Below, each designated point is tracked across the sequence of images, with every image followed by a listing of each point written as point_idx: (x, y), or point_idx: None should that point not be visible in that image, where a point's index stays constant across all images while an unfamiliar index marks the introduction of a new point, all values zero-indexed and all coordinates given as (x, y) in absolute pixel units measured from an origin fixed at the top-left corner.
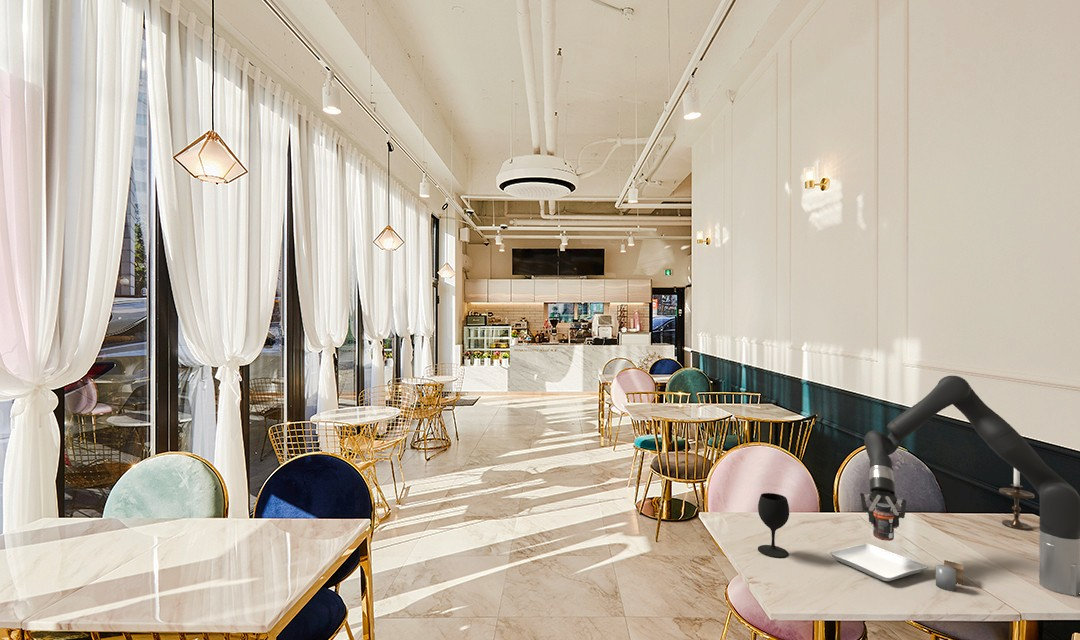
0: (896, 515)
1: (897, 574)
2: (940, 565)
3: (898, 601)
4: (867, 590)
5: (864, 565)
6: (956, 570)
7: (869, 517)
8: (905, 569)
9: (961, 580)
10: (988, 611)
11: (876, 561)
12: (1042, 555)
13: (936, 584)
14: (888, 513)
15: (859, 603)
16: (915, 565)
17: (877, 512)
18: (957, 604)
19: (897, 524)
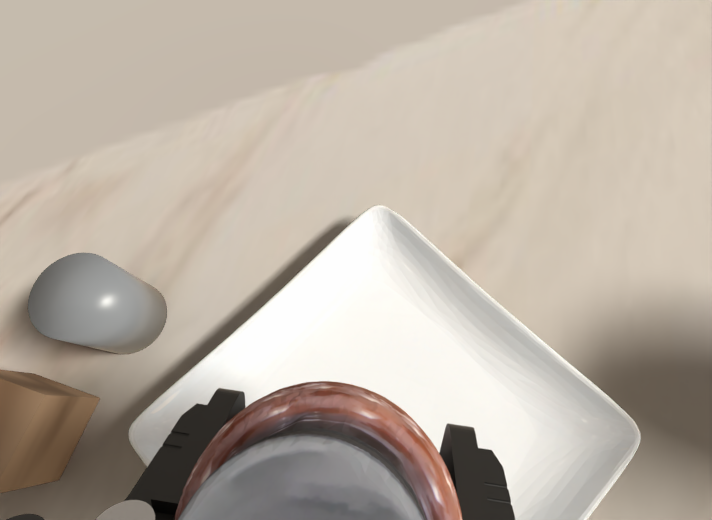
0: (143, 505)
1: (309, 340)
2: (83, 325)
3: (368, 118)
4: (461, 157)
5: (446, 403)
6: (5, 376)
7: (500, 487)
8: None
9: (23, 374)
10: (79, 163)
11: None
12: None
13: (163, 312)
14: (269, 423)
15: (497, 58)
16: None
17: (423, 450)
18: (164, 174)
19: (203, 410)
